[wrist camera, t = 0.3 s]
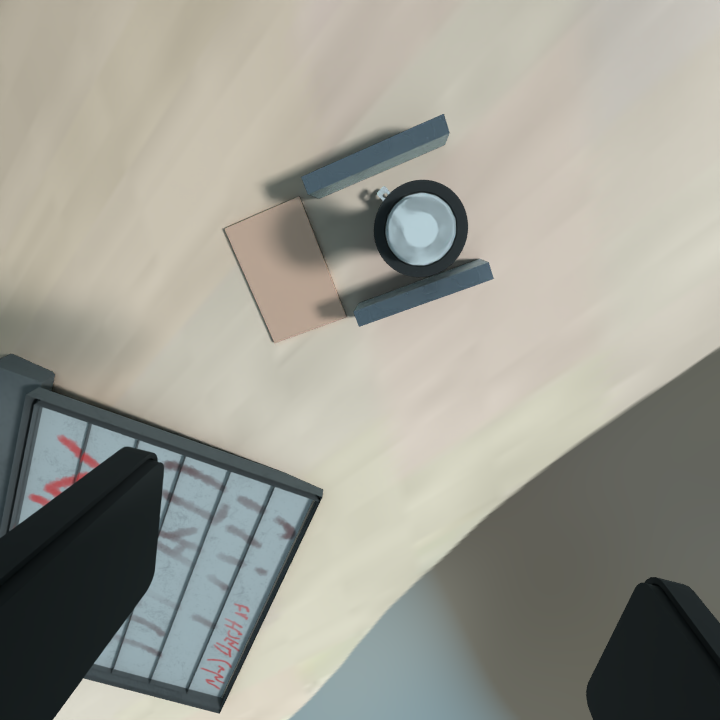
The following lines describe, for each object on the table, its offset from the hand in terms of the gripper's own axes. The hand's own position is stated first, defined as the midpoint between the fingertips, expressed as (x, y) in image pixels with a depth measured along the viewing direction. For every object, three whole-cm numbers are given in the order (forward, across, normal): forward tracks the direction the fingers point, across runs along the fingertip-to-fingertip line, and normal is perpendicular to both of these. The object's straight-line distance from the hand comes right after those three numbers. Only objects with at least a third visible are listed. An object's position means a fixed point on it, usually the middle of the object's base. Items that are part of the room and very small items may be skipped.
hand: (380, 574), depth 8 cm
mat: (+28, +10, -1) cm, 30 cm away
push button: (+28, +1, -7) cm, 29 cm away
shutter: (+30, +22, +30) cm, 48 cm away
